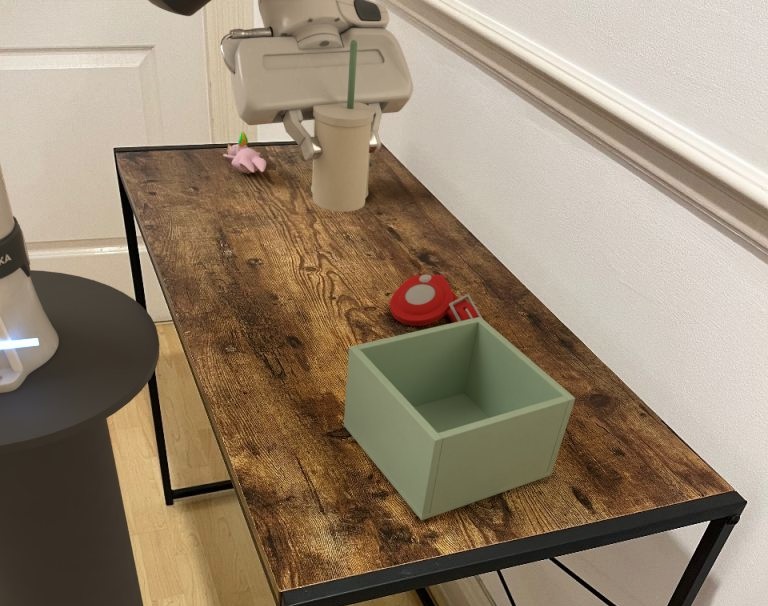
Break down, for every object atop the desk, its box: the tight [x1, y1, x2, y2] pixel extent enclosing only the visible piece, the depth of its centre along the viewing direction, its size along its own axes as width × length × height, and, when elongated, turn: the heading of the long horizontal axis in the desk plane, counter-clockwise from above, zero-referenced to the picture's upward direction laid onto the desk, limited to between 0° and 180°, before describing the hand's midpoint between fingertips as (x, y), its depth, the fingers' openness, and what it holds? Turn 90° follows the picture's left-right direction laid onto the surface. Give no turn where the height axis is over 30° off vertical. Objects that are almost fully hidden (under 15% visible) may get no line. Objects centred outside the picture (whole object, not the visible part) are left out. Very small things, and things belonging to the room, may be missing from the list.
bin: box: [343, 316, 576, 521], centre depth 77 cm, size 16×16×10 cm
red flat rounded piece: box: [389, 274, 484, 327], centre depth 99 cm, size 12×4×10 cm
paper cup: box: [312, 40, 374, 213], centre depth 83 cm, size 6×6×16 cm
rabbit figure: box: [222, 131, 267, 175], centre depth 126 cm, size 6×6×15 cm
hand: (344, 154), depth 85 cm, fingers closed on paper cup, 6 cm apart
